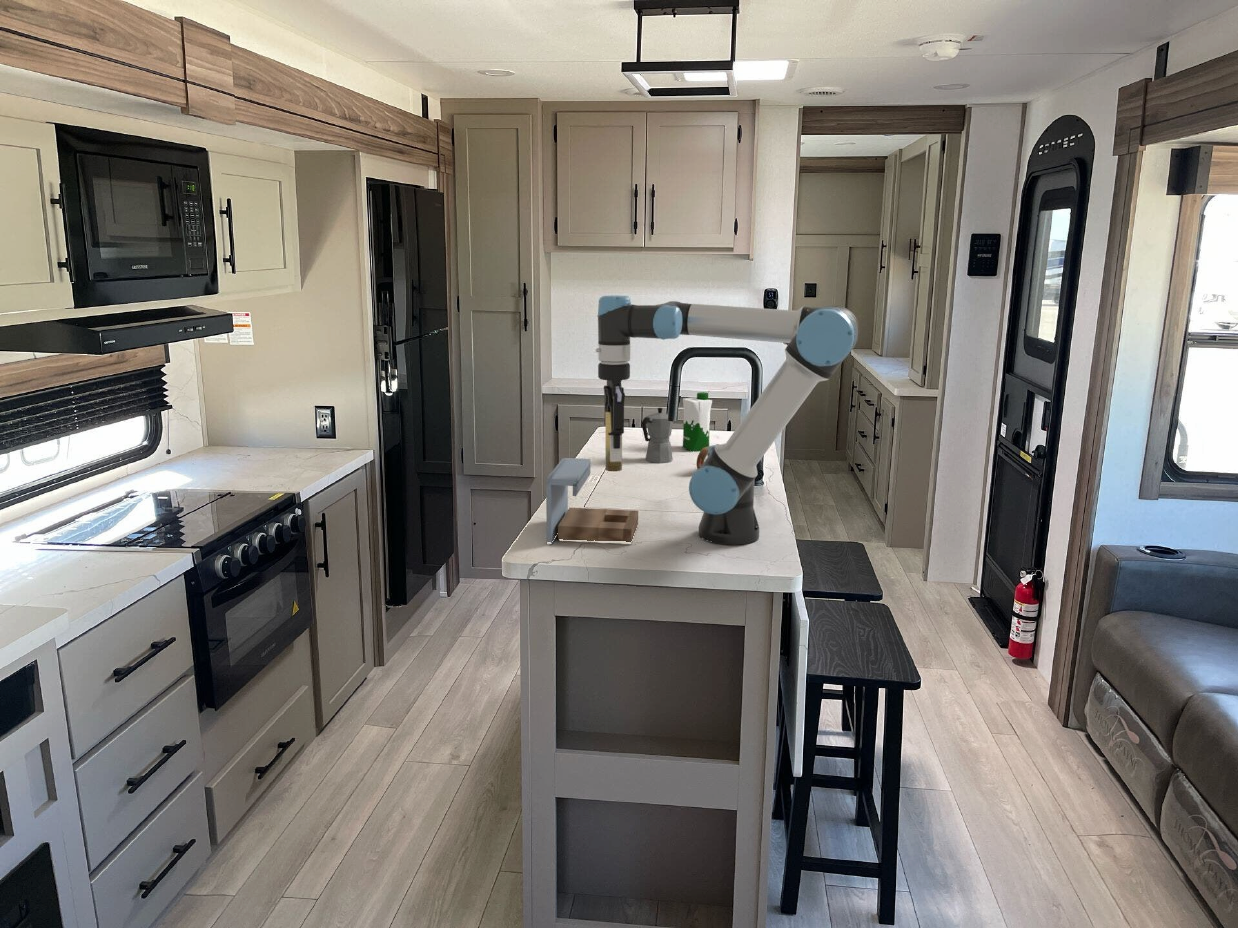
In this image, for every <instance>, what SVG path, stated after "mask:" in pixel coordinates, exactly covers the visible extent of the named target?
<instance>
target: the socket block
mask: <svg viewBox="0 0 1238 928" xmlns="http://www.w3.org/2000/svg"><path fill="white" fill-rule="evenodd" d="M637 525H638V526H639V510H637V509H635V510H628V509H612V508H610V509H609V508H592V507H591V508H589V507H588V508H587V507H568V511H567V512H566V514H565V515H564V517H563V519H562V520H561V522H560V523H559V525H558V536H557V540H558V539H563V540H587V541H594V540H595V541H626V542H631V541H632V539H633V540H634V538H633V536H634V537H635V535H634V533H635V531H636V532H637V530H636V528H637V529H638V527H637ZM635 534H636V533H635ZM632 542H633V541H632Z"/></svg>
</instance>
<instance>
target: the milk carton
mask: <svg viewBox="0 0 1238 928" xmlns="http://www.w3.org/2000/svg"><path fill="white" fill-rule="evenodd" d="M682 404H683V405H682V406H683V426H682V427H683V428H682V430H683V431H682V432H683V435H682V448H683V447H684V448H686V449H685V450H687V449H688V450H687V451H690V452H692V453H693V451H694V452H700V451H701V450H702V449H703V448H705V447H708V446H710V429H711V428H710V426H711V425H710V424H711V408H712V404H713V400H712V399H710V398H709V393H708V392H697V393H696V397H688V398H686V397H685V398H682ZM684 448H683V449H684Z"/></svg>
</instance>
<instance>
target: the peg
mask: <svg viewBox="0 0 1238 928" xmlns="http://www.w3.org/2000/svg"><path fill="white" fill-rule="evenodd" d="M608 433H611V414H610V411H607V412H606V426H605V471H608V472H620V471H622V470H623V460H622V461H618V462H610V435H608Z"/></svg>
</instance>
